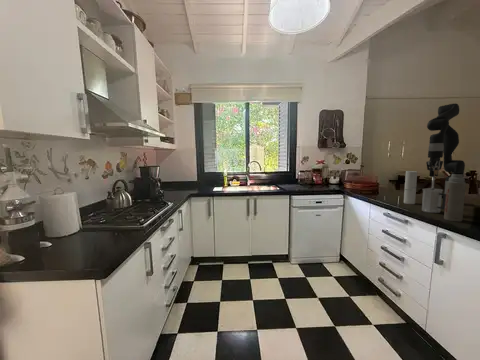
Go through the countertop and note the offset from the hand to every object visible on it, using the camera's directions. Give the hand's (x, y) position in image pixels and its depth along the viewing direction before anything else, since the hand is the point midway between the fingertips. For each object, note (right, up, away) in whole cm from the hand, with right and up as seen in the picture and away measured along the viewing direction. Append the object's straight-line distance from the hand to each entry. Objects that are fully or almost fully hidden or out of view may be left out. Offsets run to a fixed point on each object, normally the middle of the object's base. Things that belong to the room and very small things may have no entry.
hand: (433, 176), depth 151 cm
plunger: (0, -14, +2) cm, 14 cm away
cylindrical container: (+4, -21, +28) cm, 35 cm away
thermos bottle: (-3, -26, -17) cm, 31 cm away
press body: (+1, -24, +1) cm, 24 cm away
